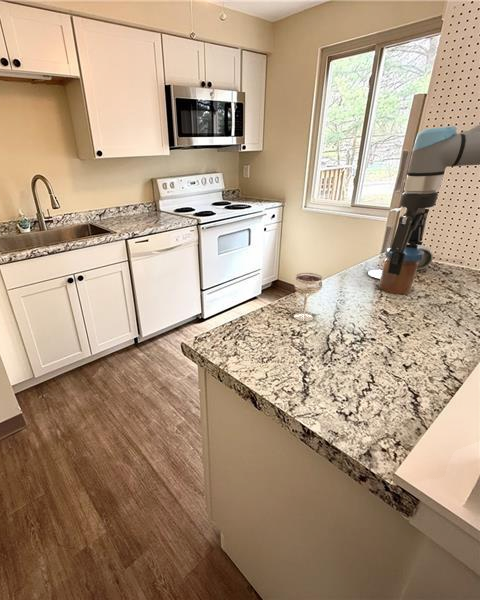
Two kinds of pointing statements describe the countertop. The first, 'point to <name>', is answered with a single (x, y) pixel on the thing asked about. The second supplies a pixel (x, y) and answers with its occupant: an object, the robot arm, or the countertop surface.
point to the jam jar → (398, 278)
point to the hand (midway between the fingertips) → (400, 269)
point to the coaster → (375, 274)
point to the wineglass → (307, 290)
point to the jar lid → (409, 254)
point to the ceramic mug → (425, 257)
